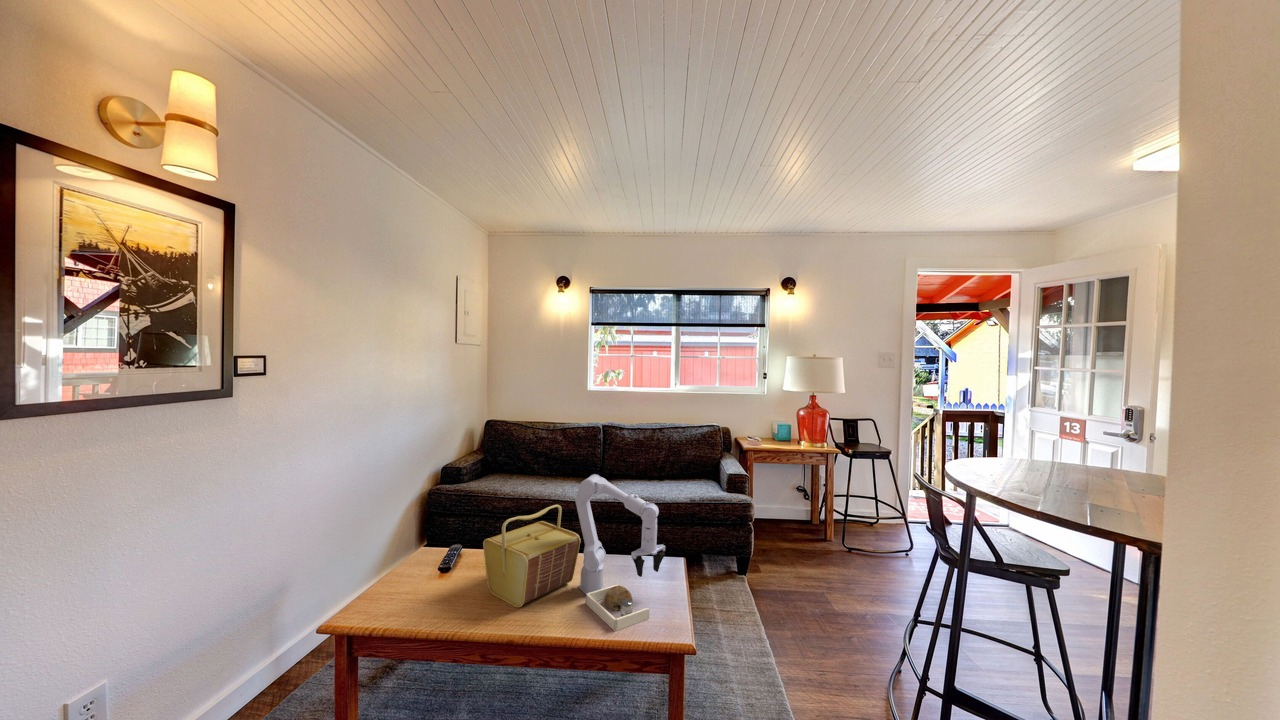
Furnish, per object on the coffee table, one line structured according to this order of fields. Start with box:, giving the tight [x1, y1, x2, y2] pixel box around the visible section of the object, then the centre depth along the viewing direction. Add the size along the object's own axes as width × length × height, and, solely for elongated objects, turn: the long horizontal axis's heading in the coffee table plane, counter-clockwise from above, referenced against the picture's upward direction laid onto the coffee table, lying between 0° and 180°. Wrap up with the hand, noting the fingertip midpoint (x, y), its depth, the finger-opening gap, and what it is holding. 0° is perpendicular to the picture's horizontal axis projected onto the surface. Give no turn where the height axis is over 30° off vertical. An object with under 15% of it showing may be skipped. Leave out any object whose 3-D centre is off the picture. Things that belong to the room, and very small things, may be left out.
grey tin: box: [619, 599, 634, 618], centre depth 158 cm, size 4×4×6 cm
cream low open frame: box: [585, 583, 650, 632], centre depth 163 cm, size 20×14×4 cm
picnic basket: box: [482, 504, 582, 609], centre depth 176 cm, size 29×26×30 cm
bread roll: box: [604, 585, 633, 611], centre depth 168 cm, size 10×10×8 cm
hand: (647, 573), depth 171 cm, fingers open, 7 cm apart
